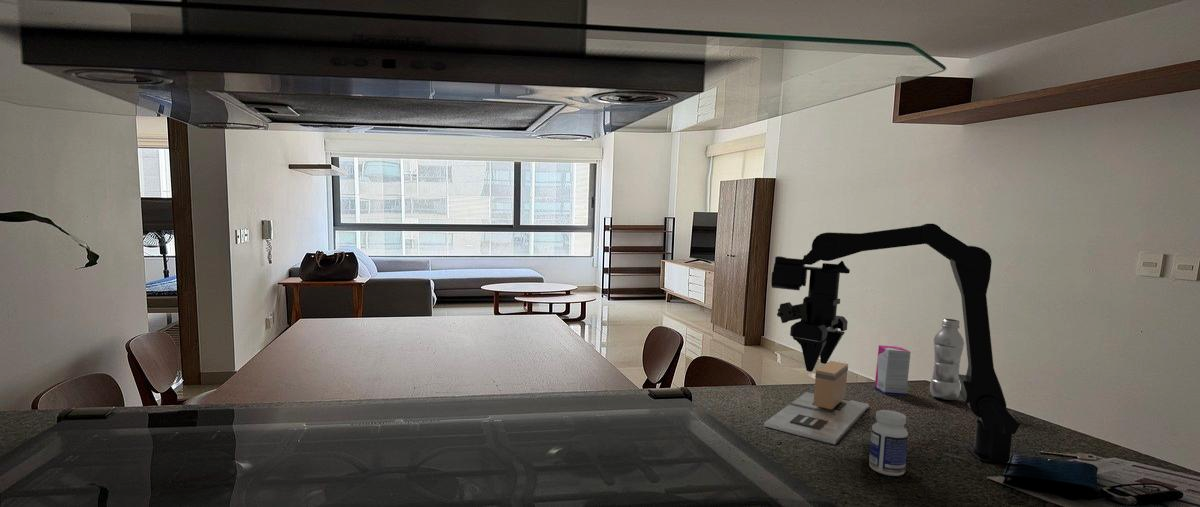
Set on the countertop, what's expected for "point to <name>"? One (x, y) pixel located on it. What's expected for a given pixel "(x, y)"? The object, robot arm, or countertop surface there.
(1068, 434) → the countertop surface
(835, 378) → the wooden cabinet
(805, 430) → the label panel
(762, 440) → the countertop surface
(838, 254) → the robot arm
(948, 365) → the plastic bottle
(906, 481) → the countertop surface
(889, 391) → the supplement box
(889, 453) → the pill bottle
